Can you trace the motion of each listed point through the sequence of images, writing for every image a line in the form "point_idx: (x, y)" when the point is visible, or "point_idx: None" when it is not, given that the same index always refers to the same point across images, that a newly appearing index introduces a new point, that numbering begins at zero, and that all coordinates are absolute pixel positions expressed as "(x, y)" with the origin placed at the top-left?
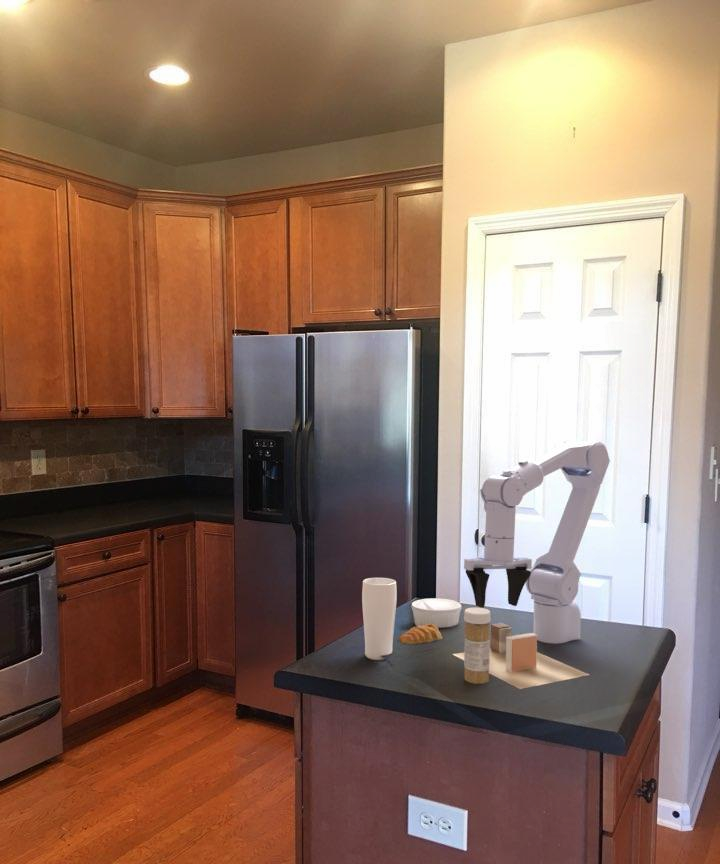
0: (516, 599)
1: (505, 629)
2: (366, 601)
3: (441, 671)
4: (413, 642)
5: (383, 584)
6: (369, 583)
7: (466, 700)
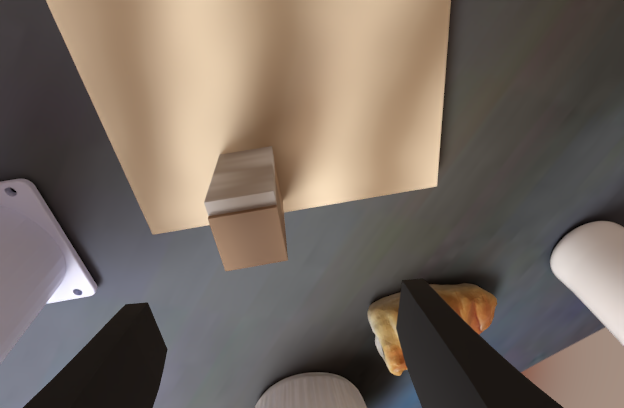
0: (113, 336)
1: (245, 194)
2: None
3: (526, 92)
4: (475, 293)
5: None
6: None
7: None
